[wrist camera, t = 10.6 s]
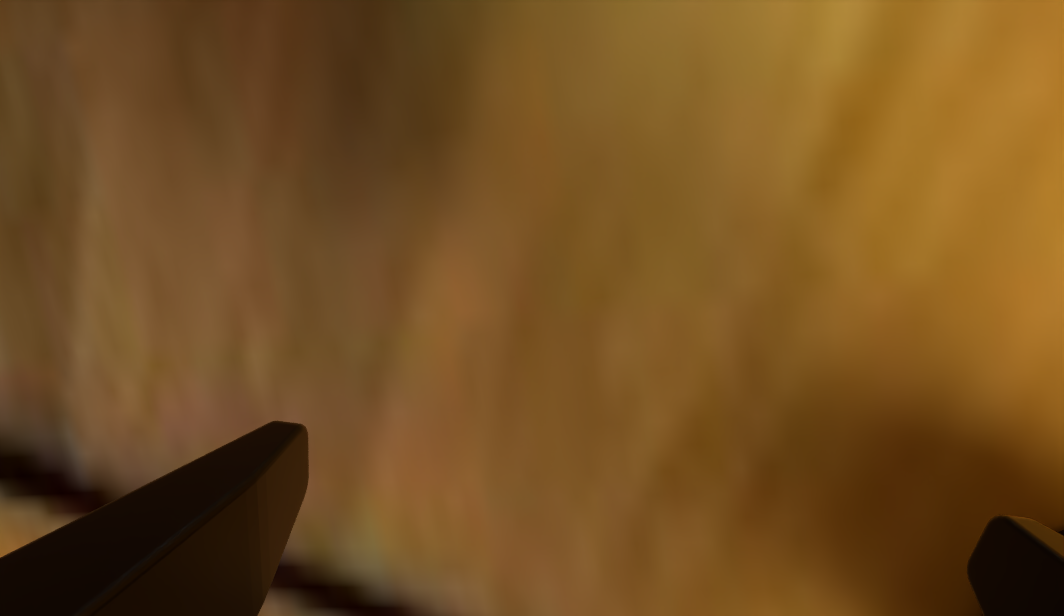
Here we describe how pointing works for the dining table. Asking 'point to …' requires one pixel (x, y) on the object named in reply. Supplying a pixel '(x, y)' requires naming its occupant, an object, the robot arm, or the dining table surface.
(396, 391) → the dining table surface
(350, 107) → the dining table surface
